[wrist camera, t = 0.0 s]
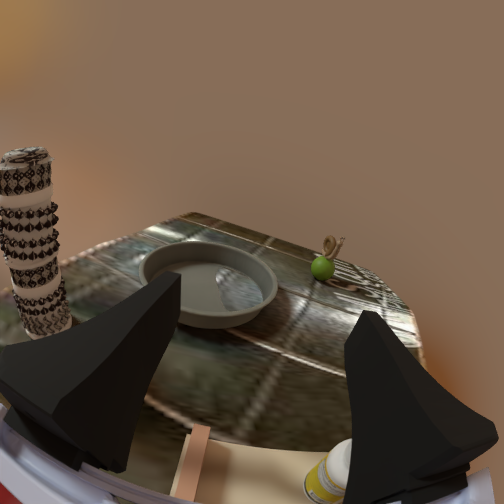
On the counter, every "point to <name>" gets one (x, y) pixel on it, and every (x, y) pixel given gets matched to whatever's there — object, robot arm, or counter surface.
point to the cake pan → (208, 280)
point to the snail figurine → (326, 259)
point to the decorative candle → (32, 241)
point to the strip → (240, 472)
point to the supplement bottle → (329, 476)
